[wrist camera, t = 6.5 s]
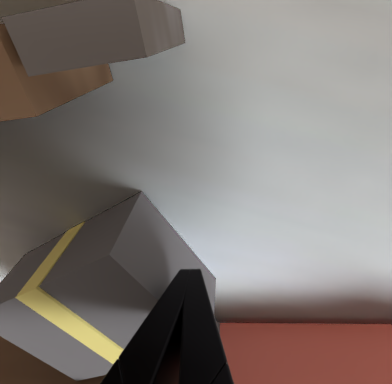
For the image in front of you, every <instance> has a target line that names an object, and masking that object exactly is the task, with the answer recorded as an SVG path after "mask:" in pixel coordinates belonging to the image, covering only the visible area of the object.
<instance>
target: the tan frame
mask: <svg viewBox="0 0 392 384" xmlns="http://www.w3.org/2000/svg"><path fill="white" fill-rule="evenodd" d="M2 20H3V22H4V24H0V121H7V120H15V119H22V118H29V117H37V116H39V115H41V114H43V113H45V112H47V111H50V110H52V109H54V108H56V107H58V106H60V105H62V104H64V103H67V102H69V101H71V100H73V99H75V98H77V97H79V96H81V95H84V94H86V93H88V92H90V91H92V90H94V89H96V88H98V87H101V86H103V85H105V84H107V83H109V82H111V81H113V78H112V75H111V71H110V68H109V65H108V64H109V63H115V62H121V61H127V60H133V59H139V58H145V57H149V56H151V55H154V54H157V53H159V52H162V51H165V50H167V49H170V48H173V47H175V46H178V45H181V44H183V43H185V38H184V31H183V24H182V18H181V11H180V9H177V8H175V7H172V6H170V5H168V4H165V3H163V2H160V1H158V0H81V1H76V2H72V3H67V4H62V5H57V6H53V7H48V8H43V9H38V10H34V11H29V12H24V13H19V14H15V15H10V16H5V17H2ZM104 377H105V375H103V376H98V377H93V378H89V379H84V380H80V381H76V380H74V379H72V378H70V377H69V376H67V375H65V374H64V373H62V372H60V371H59V370H57V369H55V368H53V367H52V366H50V365H48V364H47V363H45V362H43V361H42V360H40V359H38V358H36V357H35V356H33V355H31V354H30V353H28V352H26V351H25V350H23V349H21V348H19V347H18V346H16V345H14V344H13V343H11V342H9V341H8V340H6V339H4V338H2V337H1V336H0V384H100V382H101V381H102V379H103V378H104Z"/></svg>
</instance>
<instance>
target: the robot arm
mask: <svg viewBox="0 0 392 384" xmlns="http://www.w3.org/2000/svg"><path fill="white" fill-rule="evenodd" d="M100 384H234V382H233V378H232V375H231V371H230V368H229V365H228V362H227V358H226V354H225V351H224V347H223V344H222V340H221V337H220V333H219V330H218V326H217V323H216V319H215V316H214V312H213V309H212V305H211V302H210V298H209V295H208V291H207V288H206V284H205V281H204V277H203V274H202V270H201V269H200V268H193V269H180V270H179V271H178V273H177V274H176V276H175V277H174V278H173V280H172V281H171V283H170V284H169V286H168V287H167V288H166V290H165V291H164V293H163V294H162V296H161V297H160V299H159V300H158V301H157V303H156V304H155V306H154V307H153V309H152V310H151V311H150V313H149V314H148V316H147V317H146V319H145V320H144V321H143V323H142V324H141V326H140V327H139V329H138V330H137V331H136V333H135V334H134V336H133V337H132V339H131V340H130V341H129V343H128V344H127V346H126V347H125V349H124V350H123V351H122V353H121V354H120V356H119V359H117V360H116V361H115V363H114V364H113V366H112V367H111V368H110V370H109V371H108V373H107V374H106V375H105V377H104V378H103V379H102V381H101V382H100Z"/></svg>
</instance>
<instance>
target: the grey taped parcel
mask: <svg viewBox="0 0 392 384" xmlns="http://www.w3.org/2000/svg"><path fill="white" fill-rule="evenodd" d="M193 268H200V269H201V270H202V274H203V277H204V281H205V284H206V288H207V291H208V295H209V298H210V302H211V305H212V309H213V312H214V308H215V281H216V278H215V277H214V276H213V275H212V274H211V272H210V271H209V270H208V269H207V268H206V266H205V265H204V264H203V263H202V262H201V261H200V259H199V258H198V257H197V256H196V255H195V254H194V252H193V251H192V250H191V249H190V248H189V246H188V245H187V244H186V243H185V242H184V241H183V239H182V238H181V237H180V236H179V235H178V234H177V232H176V231H175V230H174V229H173V228H172V227H171V225H170V224H169V223H168V222H167V221H166V219H165V218H164V217H163V216H162V215H161V214H160V212H159V211H158V210H157V209H156V208H155V207H154V205H153V204H152V203H151V202H150V201H149V199H148V198H147V197H146V196H145V195H144V194H143V192H142V191H141V192H140V193H138V194H136V195H134V196H132V197H130V198H128V199H127V200H125V201H123V202H121V203H119V204H117V205H116V206H114V207H112V208H110V209H108V210H106V211H104V212H103V213H101V214H99V215H97V216H95V217H93V218H92V219H90V220H88V221H86V222H85V221H84V222H82V223H80V224H78V225H77V226H75V227H73V228H71V229H69V230H67V232H66V233H64V234H62V235H60V236H58V237H57V238H55V239H53V240H51V241H49V242H47V243H45V244H44V245H42V246H40V247H38V248H36V249H34V250H33V251H31V252H29V253H27V254H25V255H24V257H23V258H22V259H21V260H20V261H19V262H18V263H17V264H16V266H15V267H14V268H13V269H12V270H11V271H10V272H9V274H8V275H7V276H6V277H5V278H4V279H3V280H2V282H1V283H0V336H1V337H2V338H4V339H6V340H8V341H9V342H11V343H13V344H14V345H16V346H18V347H19V348H21V349H23V350H25V351H26V352H28V353H30V354H31V355H33V356H35V357H36V358H38V359H40V360H42V361H43V362H45V363H47V364H48V365H50V366H52V367H53V368H55V369H57V370H59V371H60V372H62V373H64V374H65V375H67V376H69V377H70V378H72V379H74V380H76V381H80V380H84V379H89V378H93V377H98V376H103V375H106V374H107V373H108V371H109V370H110V368H111V367H112V366H113V364H114V363H115V361H116V360H117V359H119V356H120V354H121V353H122V351H123V350H124V349H125V347H126V346H127V344H128V343H129V341H130V340H131V339H132V337H133V336H134V334H135V333H136V331H137V330H138V329H139V327H140V326H141V324H142V323H143V321H144V320H145V319H146V317H147V316H148V314H149V313H150V311H151V310H152V309H153V307H154V306H155V304H156V303H157V301H158V300H159V299H160V297H161V296H162V294H163V293H164V291H165V290H166V288H167V287H168V286H169V284H170V283H171V281H172V280H173V278H174V277H175V276H176V274H177V273H178V271H179V270H180V269H193Z"/></svg>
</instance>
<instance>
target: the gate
mask: <svg viewBox="0 0 392 384" xmlns="http://www.w3.org/2000/svg"><path fill="white" fill-rule="evenodd" d="M216 323H217V326H218V330H219V333H220V337H221V340H222V344H223V347H224V351H225V354H226V358H227V362H228V365H229V368H230V371H231V375H232V378H233V382H234V384H392V324H306V323H219V322H217V321H216Z"/></svg>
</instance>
